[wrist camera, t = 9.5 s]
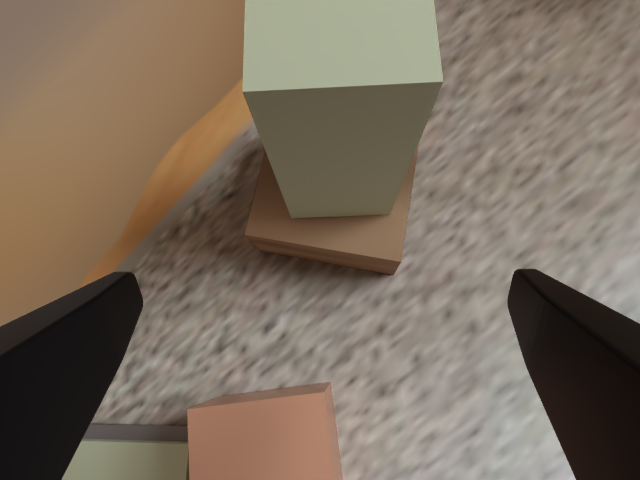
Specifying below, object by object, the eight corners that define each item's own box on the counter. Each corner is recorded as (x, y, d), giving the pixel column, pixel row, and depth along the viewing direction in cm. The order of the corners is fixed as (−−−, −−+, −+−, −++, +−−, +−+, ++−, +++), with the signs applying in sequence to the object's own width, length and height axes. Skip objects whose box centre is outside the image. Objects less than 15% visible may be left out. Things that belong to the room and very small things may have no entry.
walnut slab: (392, 275, 23) (400, 261, 19) (261, 252, 24) (244, 234, 20) (412, 152, 25) (422, 117, 21) (289, 135, 26) (278, 99, 22)
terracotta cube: (346, 506, 20) (344, 556, 15) (230, 519, 20) (192, 572, 16) (330, 381, 22) (324, 391, 17) (223, 395, 22) (187, 409, 17)
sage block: (390, 214, 20) (443, 81, 10) (291, 218, 20) (243, 91, 10) (383, 125, 21) (424, -74, 11) (290, 130, 21) (247, -62, 11)
